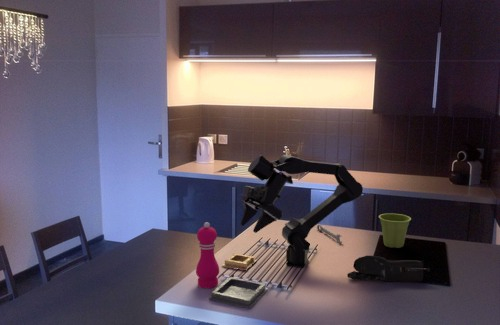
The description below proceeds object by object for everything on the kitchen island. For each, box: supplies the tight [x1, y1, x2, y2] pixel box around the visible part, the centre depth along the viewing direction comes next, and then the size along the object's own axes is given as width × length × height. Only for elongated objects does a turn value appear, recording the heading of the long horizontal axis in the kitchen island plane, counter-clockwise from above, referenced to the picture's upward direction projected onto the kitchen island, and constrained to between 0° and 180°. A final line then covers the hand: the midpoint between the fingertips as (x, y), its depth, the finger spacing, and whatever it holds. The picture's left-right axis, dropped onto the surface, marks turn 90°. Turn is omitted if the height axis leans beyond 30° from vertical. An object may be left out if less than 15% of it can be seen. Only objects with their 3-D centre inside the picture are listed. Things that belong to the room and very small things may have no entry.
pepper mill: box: [195, 221, 220, 289], centre depth 138 cm, size 7×7×20 cm
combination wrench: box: [316, 224, 343, 245], centre depth 184 cm, size 4×1×20 cm
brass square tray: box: [221, 253, 258, 271], centre depth 155 cm, size 9×9×2 cm
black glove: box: [347, 255, 431, 283], centre depth 143 cm, size 7×25×8 cm, turn 93°
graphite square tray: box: [208, 276, 269, 310], centre depth 132 cm, size 13×13×2 cm
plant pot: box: [378, 213, 412, 249], centre depth 173 cm, size 12×12×11 cm
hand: (247, 228), depth 146 cm, fingers open, 9 cm apart
